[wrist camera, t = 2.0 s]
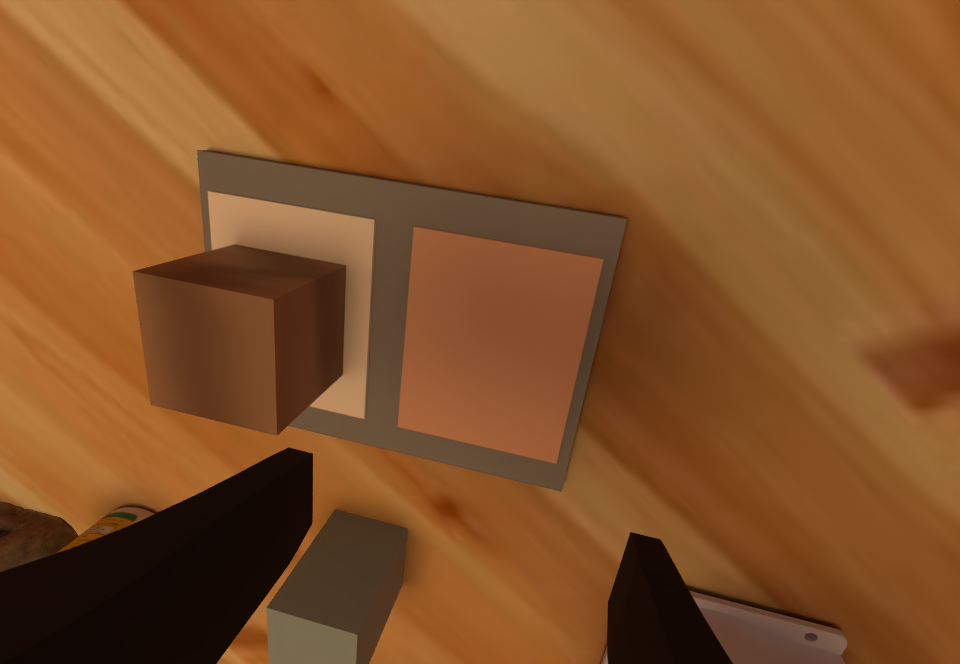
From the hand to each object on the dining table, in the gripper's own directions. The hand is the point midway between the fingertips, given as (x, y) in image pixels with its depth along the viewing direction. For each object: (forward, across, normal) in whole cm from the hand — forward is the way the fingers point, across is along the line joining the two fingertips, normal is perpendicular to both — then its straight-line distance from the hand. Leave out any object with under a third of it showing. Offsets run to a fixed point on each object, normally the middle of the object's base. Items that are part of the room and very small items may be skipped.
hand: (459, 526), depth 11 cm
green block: (+10, +6, +13) cm, 18 cm away
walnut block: (+10, +10, 0) cm, 14 cm away
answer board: (+10, +6, 0) cm, 12 cm away
